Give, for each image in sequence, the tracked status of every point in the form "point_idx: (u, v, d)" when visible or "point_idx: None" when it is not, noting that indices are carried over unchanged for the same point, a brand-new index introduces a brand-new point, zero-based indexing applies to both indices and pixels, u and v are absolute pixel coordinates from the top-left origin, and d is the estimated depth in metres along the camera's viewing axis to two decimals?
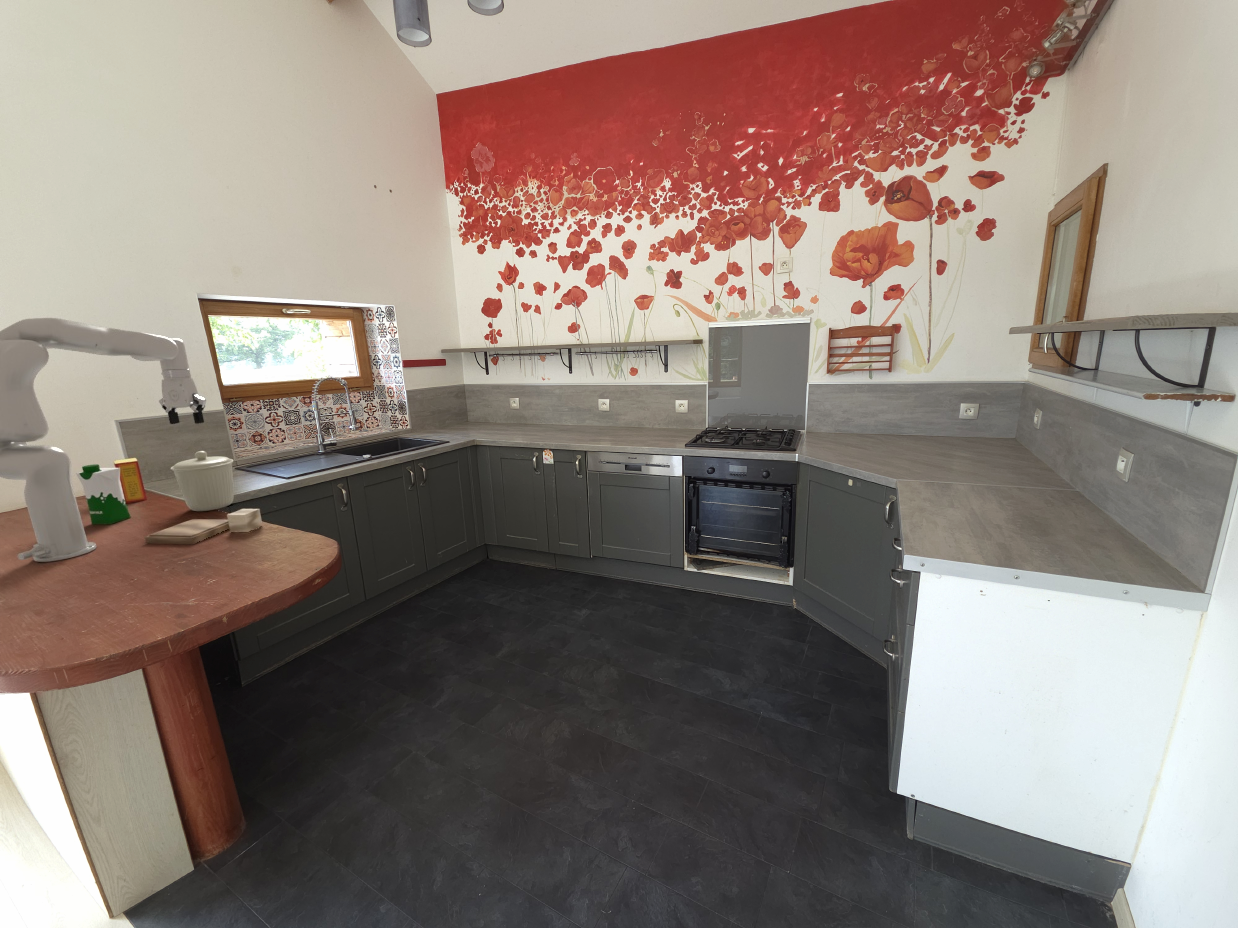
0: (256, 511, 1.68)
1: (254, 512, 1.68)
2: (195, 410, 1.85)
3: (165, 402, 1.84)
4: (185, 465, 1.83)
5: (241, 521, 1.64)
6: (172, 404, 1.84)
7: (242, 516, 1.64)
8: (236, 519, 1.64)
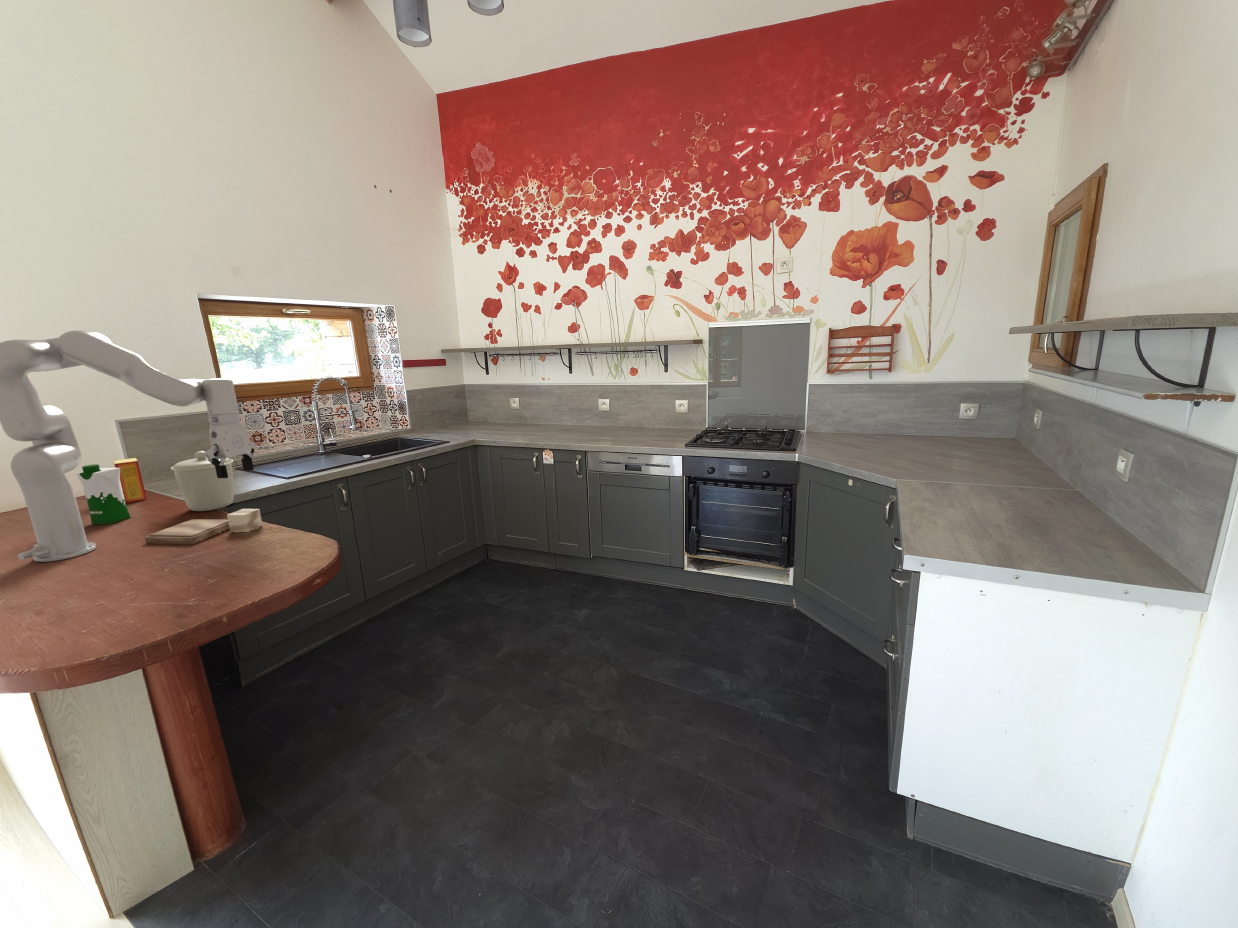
0: (256, 511, 1.68)
1: (254, 512, 1.67)
2: (251, 455, 1.68)
3: (228, 451, 1.58)
4: (185, 465, 1.83)
5: (241, 521, 1.64)
6: (236, 452, 1.61)
7: (242, 516, 1.64)
8: (237, 519, 1.64)
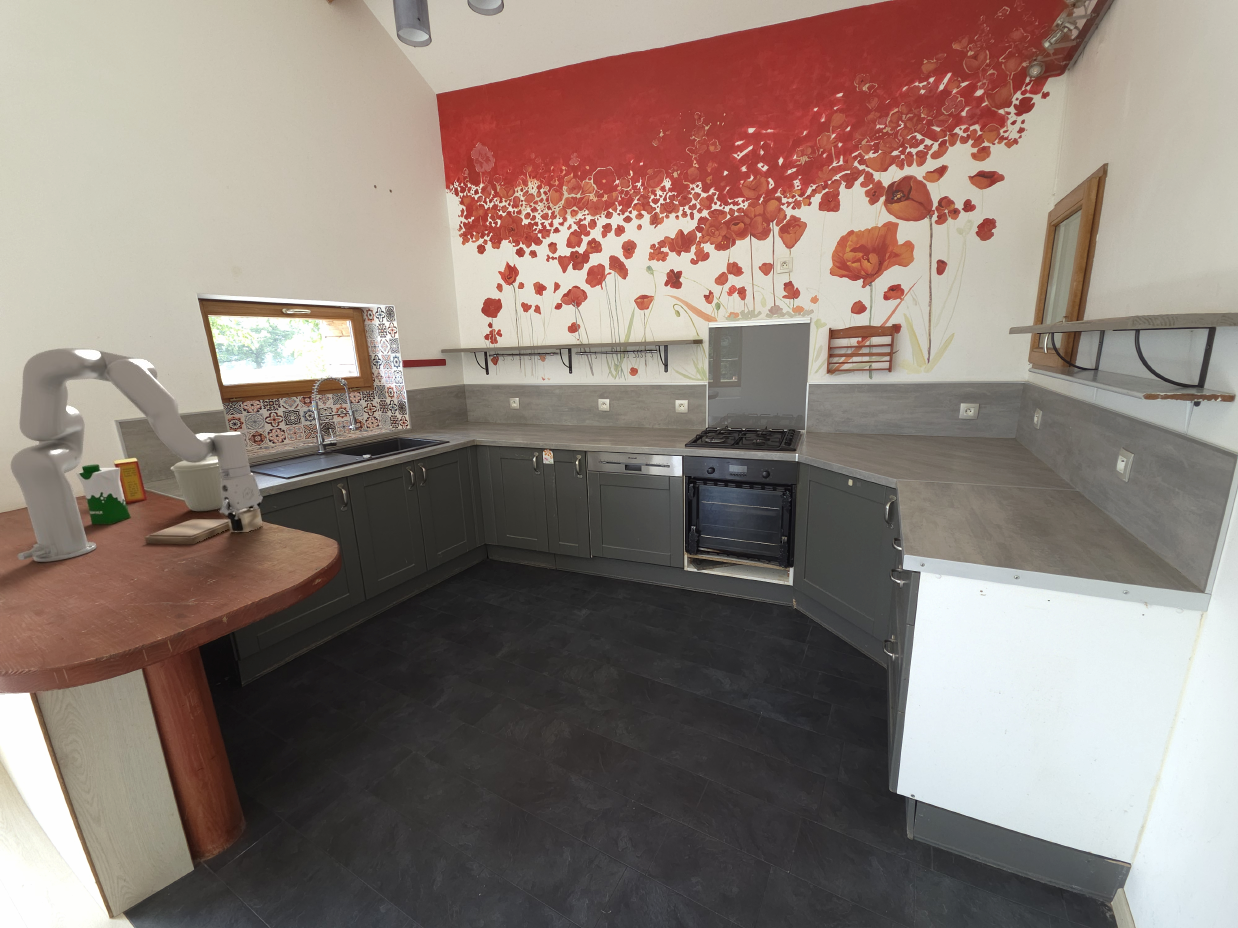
0: (256, 511, 1.68)
1: (254, 512, 1.67)
2: None
3: (238, 504, 1.62)
4: (185, 465, 1.83)
5: (242, 521, 1.64)
6: (246, 504, 1.65)
7: (242, 516, 1.64)
8: None
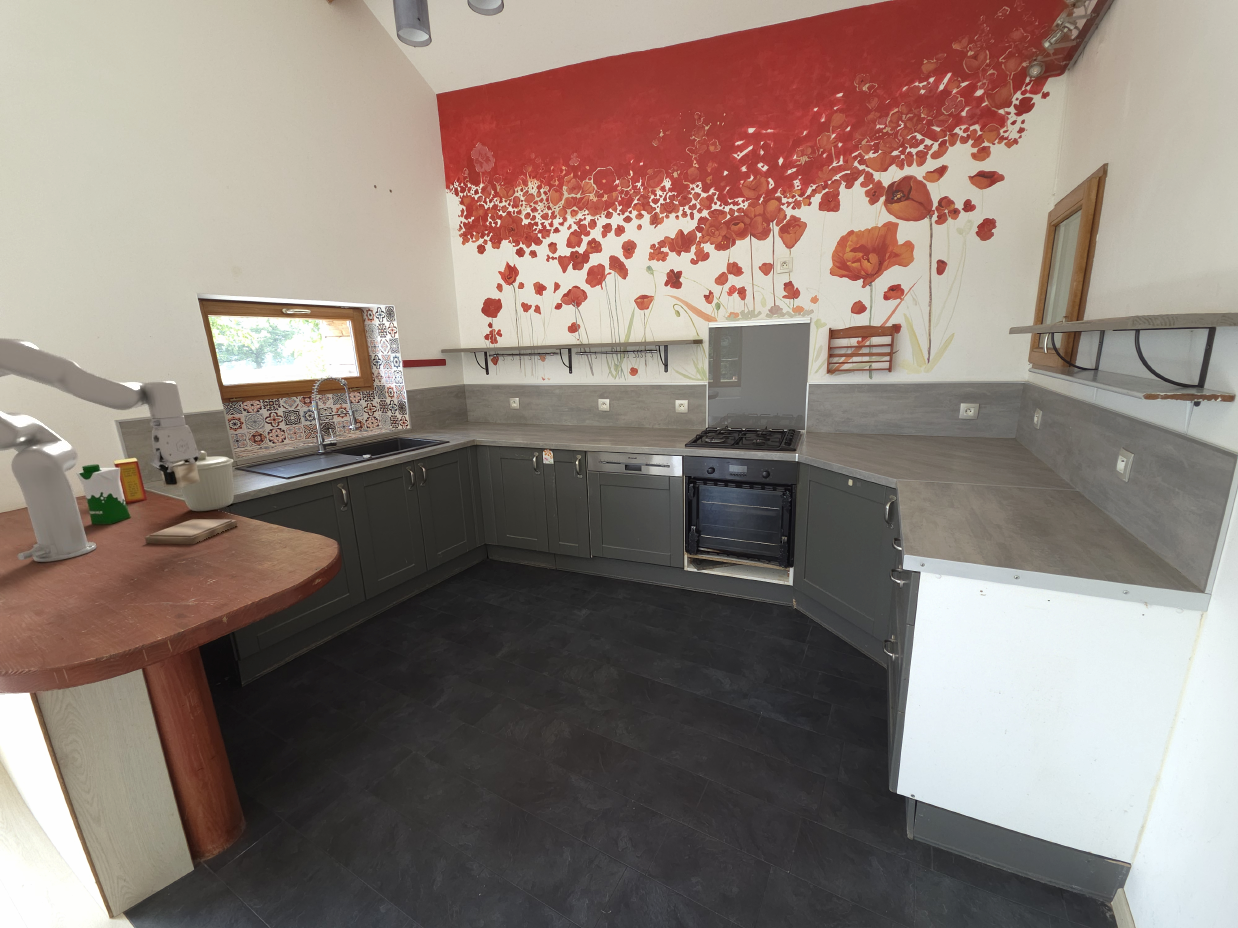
0: (192, 465, 1.62)
1: (190, 465, 1.61)
2: None
3: (171, 456, 1.55)
4: None
5: (175, 474, 1.58)
6: (180, 456, 1.58)
7: (176, 468, 1.57)
8: None
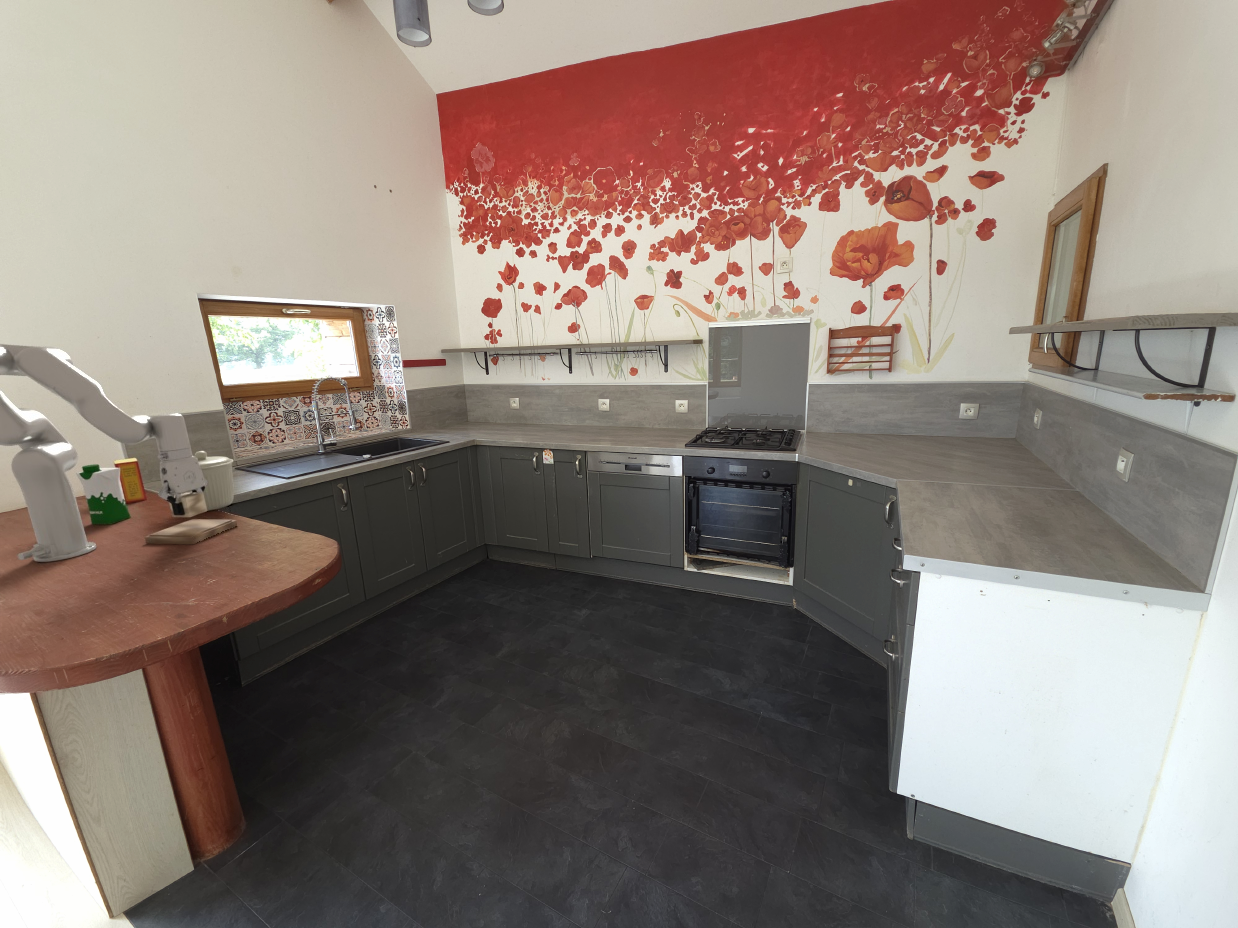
0: (199, 495, 1.64)
1: (197, 496, 1.63)
2: None
3: (179, 487, 1.58)
4: None
5: (183, 505, 1.60)
6: (188, 487, 1.60)
7: (183, 499, 1.59)
8: None
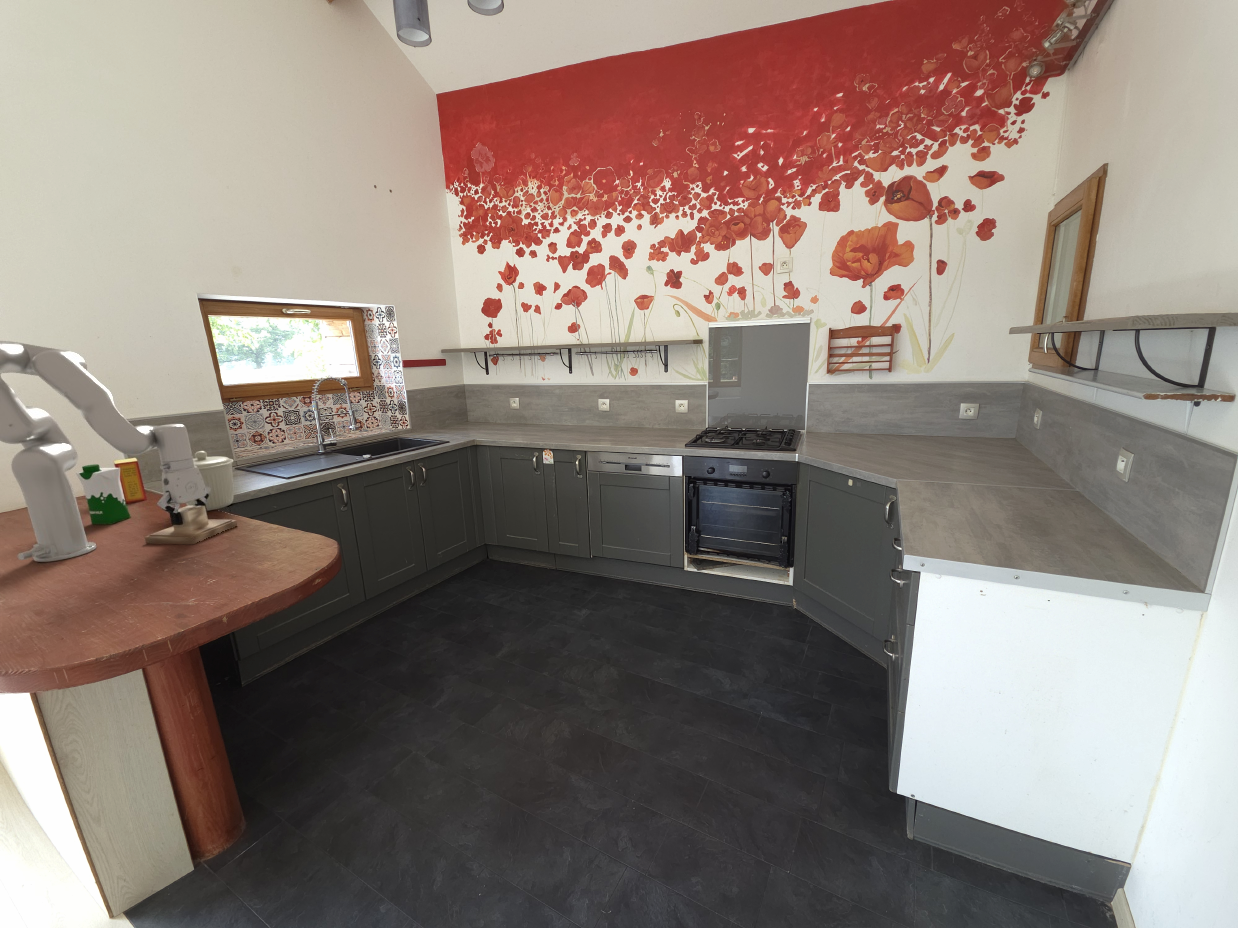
0: (201, 508, 1.65)
1: (199, 509, 1.64)
2: (205, 500, 1.68)
3: (180, 498, 1.58)
4: None
5: (185, 518, 1.61)
6: (189, 498, 1.61)
7: (185, 513, 1.60)
8: None
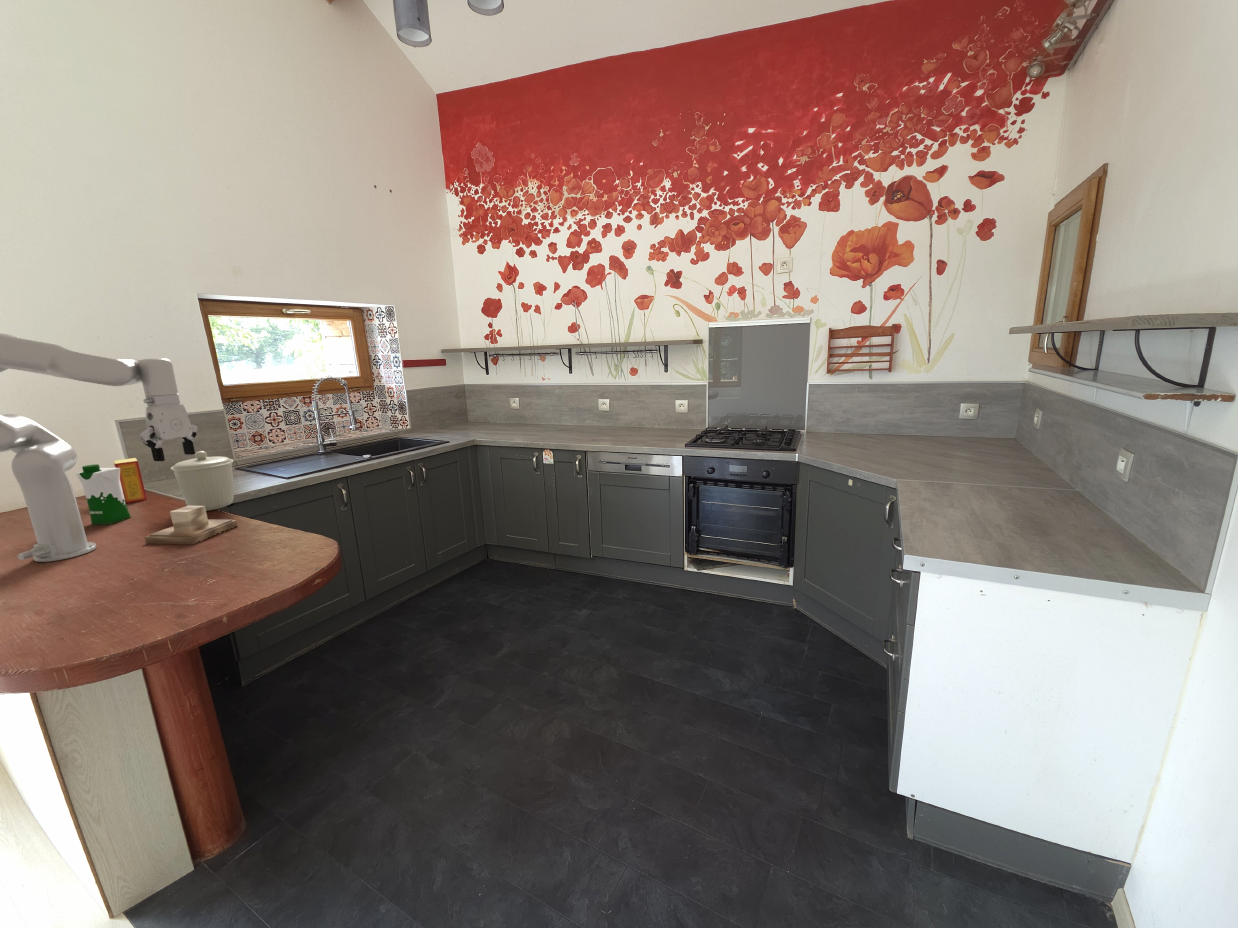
0: (201, 508, 1.65)
1: (199, 509, 1.64)
2: (192, 439, 1.64)
3: (165, 434, 1.54)
4: (185, 465, 1.83)
5: (185, 518, 1.61)
6: (174, 435, 1.57)
7: (185, 513, 1.60)
8: (180, 516, 1.61)
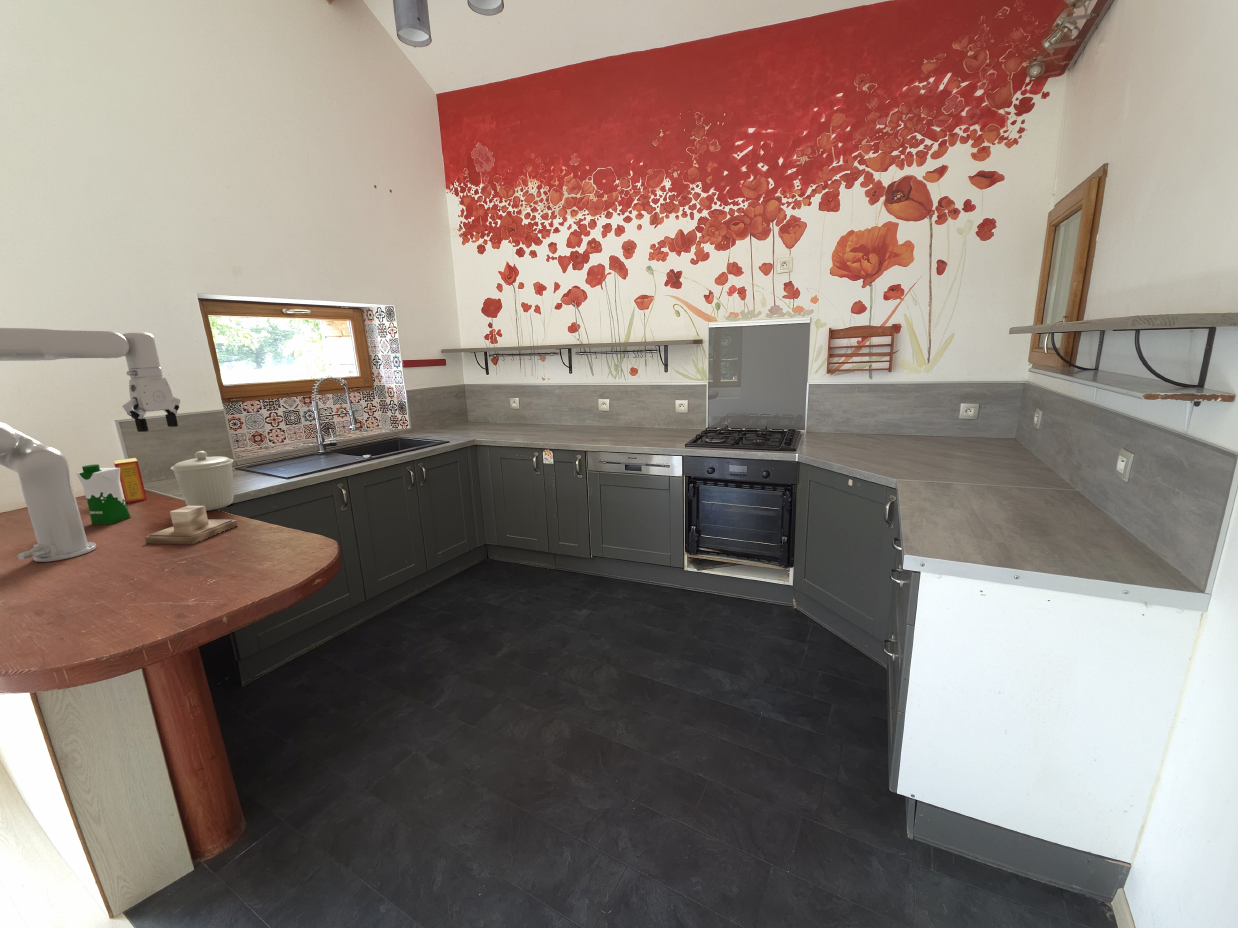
0: (201, 508, 1.65)
1: (199, 509, 1.64)
2: (175, 411, 1.70)
3: (148, 405, 1.60)
4: (185, 465, 1.83)
5: (185, 518, 1.61)
6: (157, 406, 1.63)
7: (185, 513, 1.60)
8: (180, 516, 1.61)
